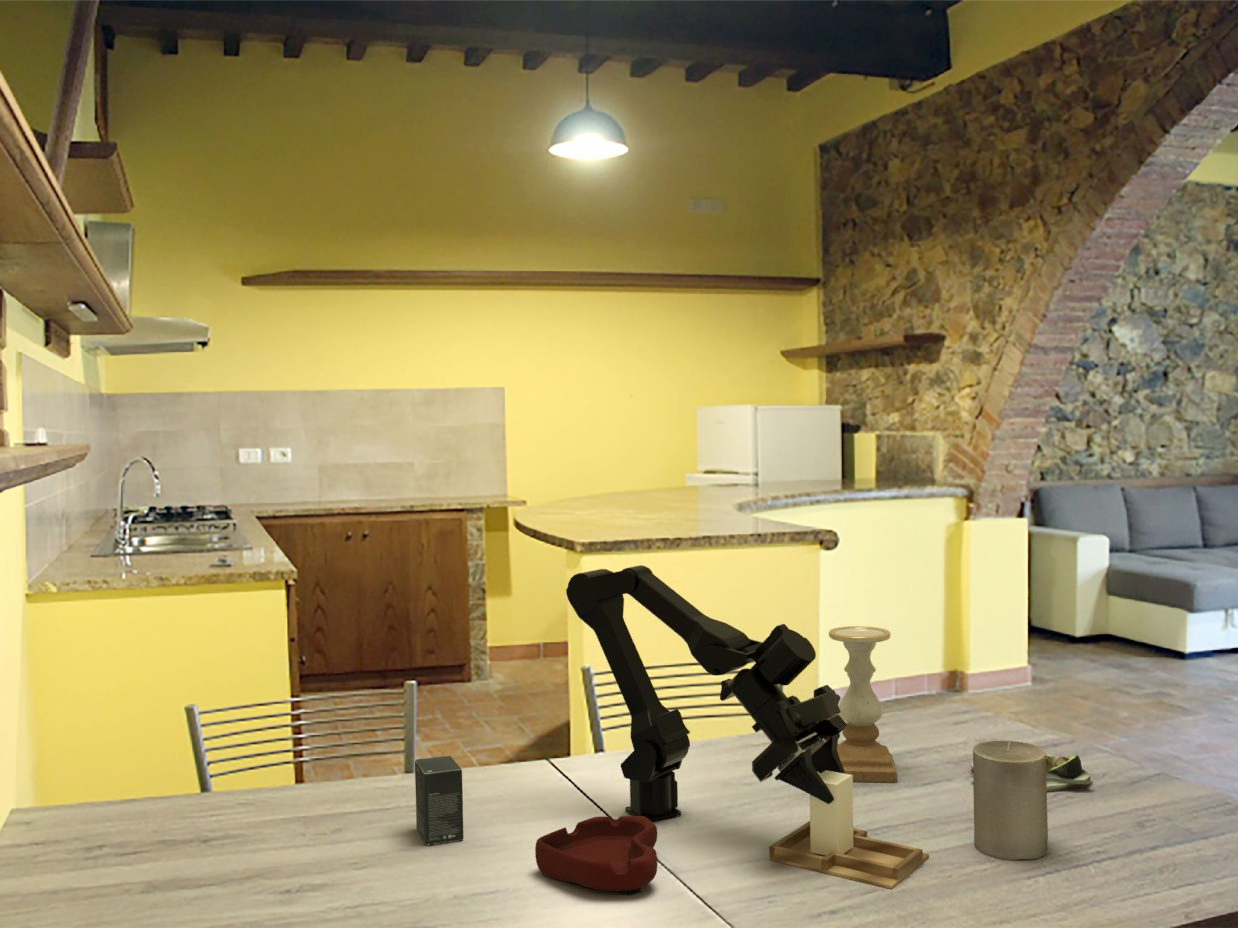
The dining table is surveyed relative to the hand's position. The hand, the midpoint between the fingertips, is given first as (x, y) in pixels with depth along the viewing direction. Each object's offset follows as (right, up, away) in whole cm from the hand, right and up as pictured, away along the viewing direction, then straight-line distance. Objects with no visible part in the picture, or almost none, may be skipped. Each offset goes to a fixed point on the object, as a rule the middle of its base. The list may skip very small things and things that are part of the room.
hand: (840, 796), depth 156 cm
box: (-56, -9, +12) cm, 59 cm away
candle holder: (+11, -7, +37) cm, 39 cm away
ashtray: (-33, -10, -3) cm, 35 cm away
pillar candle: (+24, -8, +2) cm, 25 cm away
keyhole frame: (+1, -8, 0) cm, 8 cm away
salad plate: (+38, -7, +33) cm, 51 cm away
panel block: (-1, -8, +1) cm, 8 cm away
